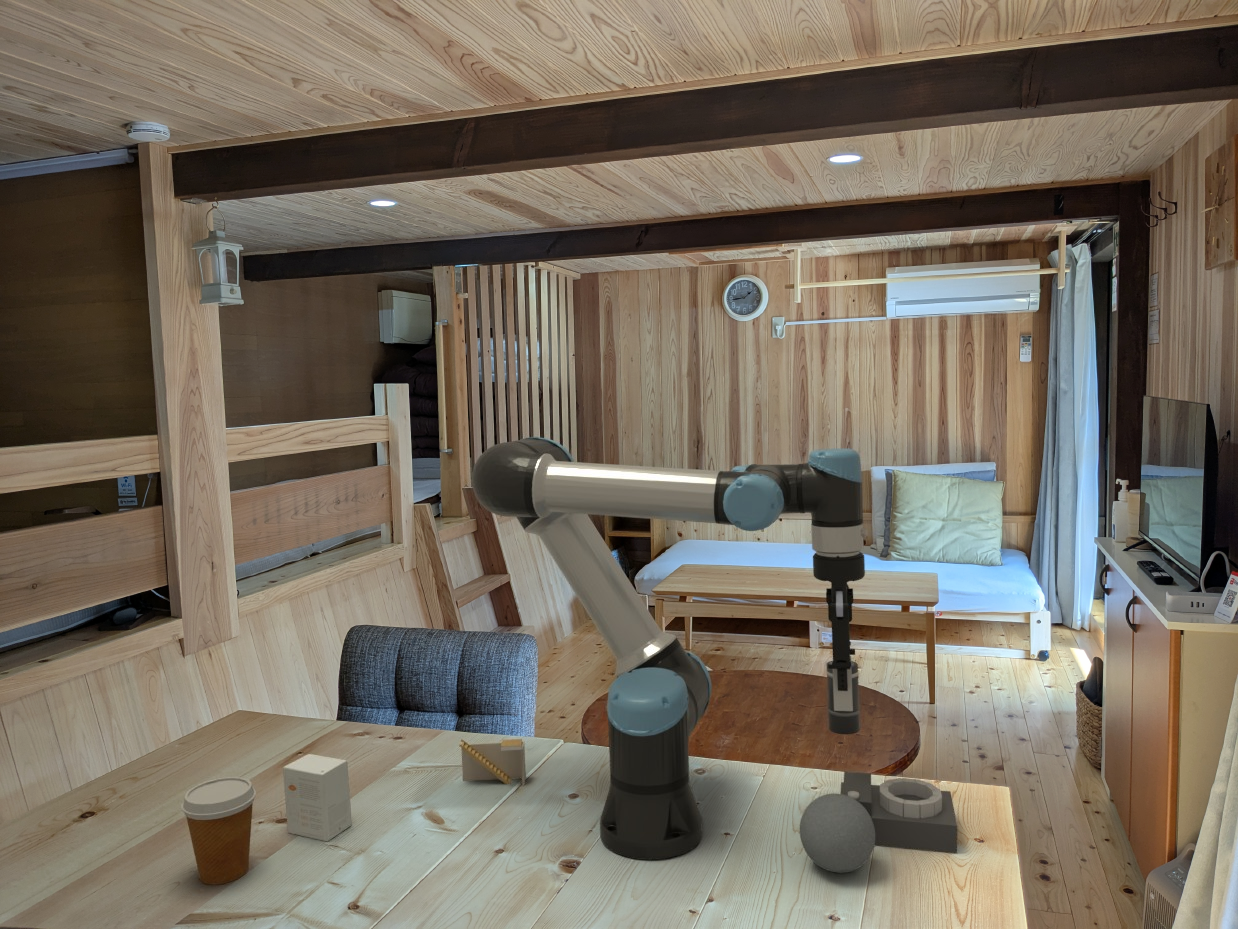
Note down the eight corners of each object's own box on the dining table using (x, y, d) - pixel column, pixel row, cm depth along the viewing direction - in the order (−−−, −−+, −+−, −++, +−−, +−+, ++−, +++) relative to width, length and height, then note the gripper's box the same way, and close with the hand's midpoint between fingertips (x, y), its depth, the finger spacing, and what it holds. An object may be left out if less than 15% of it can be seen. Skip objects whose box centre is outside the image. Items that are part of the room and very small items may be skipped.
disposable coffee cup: (214, 898, 121) (208, 812, 120) (172, 880, 126) (166, 796, 125) (275, 865, 129) (270, 784, 128) (233, 849, 134) (228, 770, 133)
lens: (828, 734, 136) (825, 667, 136) (828, 722, 141) (826, 658, 140) (860, 735, 135) (858, 668, 134) (860, 723, 140) (857, 659, 139)
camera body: (839, 841, 131) (838, 797, 130) (841, 807, 141) (840, 766, 141) (957, 853, 127) (957, 808, 126) (950, 817, 137) (950, 774, 137)
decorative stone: (813, 843, 131) (813, 775, 130) (884, 859, 126) (883, 790, 125) (789, 876, 122) (788, 804, 121) (863, 895, 117) (863, 820, 116)
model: (524, 788, 153) (522, 743, 152) (460, 790, 152) (458, 746, 152) (525, 779, 156) (524, 736, 155) (463, 782, 155) (461, 738, 155)
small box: (352, 826, 140) (349, 760, 139) (327, 843, 135) (323, 774, 134) (313, 817, 143) (309, 752, 142) (286, 833, 138) (282, 766, 137)
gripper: (865, 563, 127) (870, 726, 128) (863, 541, 144) (868, 685, 145) (810, 563, 128) (816, 724, 130) (814, 542, 145) (820, 684, 147)
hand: (843, 703), depth 138 cm, fingers closed on lens, 5 cm apart
